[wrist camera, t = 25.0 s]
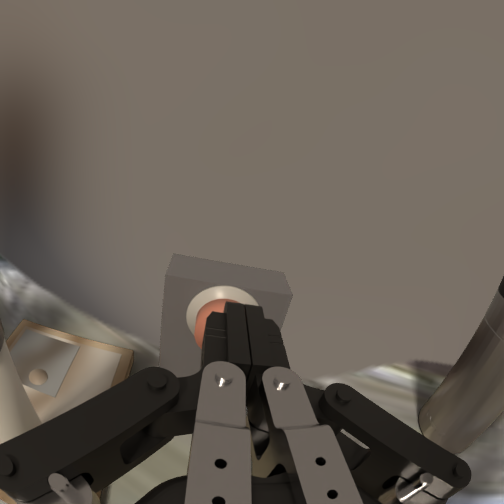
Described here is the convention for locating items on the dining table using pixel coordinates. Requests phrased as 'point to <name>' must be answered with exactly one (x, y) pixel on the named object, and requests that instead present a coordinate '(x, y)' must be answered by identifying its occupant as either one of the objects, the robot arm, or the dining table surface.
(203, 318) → the button
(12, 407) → the white shaker grey cap
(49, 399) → the beige board with ring
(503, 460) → the dining table surface
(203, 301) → the button panel
